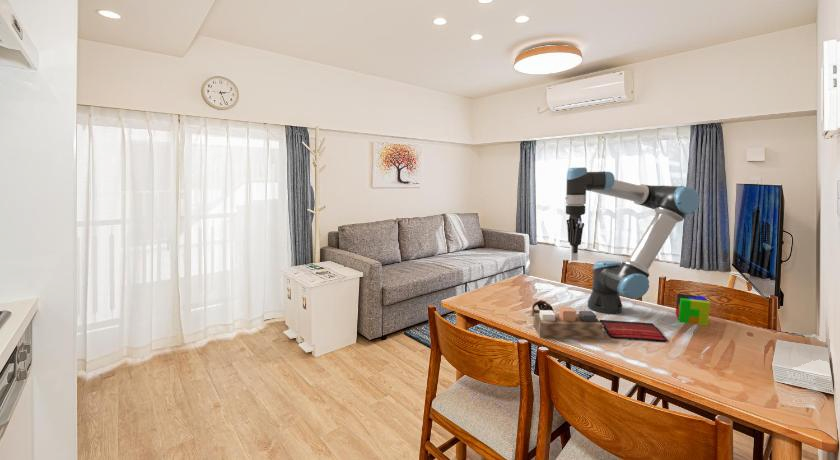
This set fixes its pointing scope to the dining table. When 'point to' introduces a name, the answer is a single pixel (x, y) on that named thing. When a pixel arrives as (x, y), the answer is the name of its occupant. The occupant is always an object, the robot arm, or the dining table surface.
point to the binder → (633, 330)
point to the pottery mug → (541, 306)
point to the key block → (568, 328)
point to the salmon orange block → (567, 314)
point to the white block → (547, 315)
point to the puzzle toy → (692, 309)
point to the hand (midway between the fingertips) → (573, 260)
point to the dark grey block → (587, 316)
